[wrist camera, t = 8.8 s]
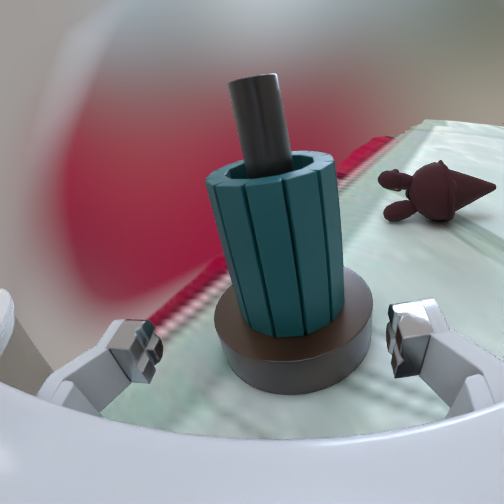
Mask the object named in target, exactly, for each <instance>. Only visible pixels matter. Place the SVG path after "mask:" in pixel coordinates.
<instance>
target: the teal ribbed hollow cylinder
mask: <svg viewBox="0 0 504 504" xmlns="http://www.w3.org/2000/svg"><path fill="white" fill-rule="evenodd" d="M291 153H292V159H293V165H294V171H292V172H289V173H285V174H281V175H277V176H270V177H263V178H256V179H247V174H246V169H245V164H244V160H241V161H237V162H236V163H231V164H229V165H227V166H224V167H222V168H220V169H217V170H216V171H214V172H212V173H211V174H210V175H209V176H208V177H207V178H206V180H205V182H206V186H207V190H208V194H209V198H210V202H211V206H212V210H213V214H214V217H215V221H216V225H217V229H218V232H219V236H220V240H221V244H222V248H223V251H224V255H225V259H226V262H227V266H228V270H229V273H230V277H231V281H232V284H233V288H234V291H235V295H236V299H237V302H238V306H239V309H240V313H241V315H242V317H243V318H244V320H245V321H246V323H247V324H248V326H249V327H252V329H253V330H255V331H258V332H260V333H263V334H266V335H268V336H271V337H274V335H275V334H276V336H277V337H278V338H279V337H295V336H303V335H304V331H305V332H306V333H307V334H310V333H312V332H315V331H317V330H319V329H321V328H323V327H325V326H327V325H329V324H330V321H334V320H335V318H336V317H337V315H338V314H339V312H340V311H341V309H342V308H343V306H344V302H345V297H344V268H343V249H342V233H341V220H340V208H339V197H338V187H337V177H336V169H335V161H334V160H333V158H332V156H331V155H329V154H326V153H321V152H315V151H313V152H311V151H291Z"/></svg>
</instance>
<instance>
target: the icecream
mask: <svg viewBox="0 0 504 504" xmlns="http://www.w3.org/2000/svg"><path fill="white" fill-rule="evenodd" d="M378 182H379V184H380V185H381V186H382V187H383V188H386V189H389V190H393V191H398V192H399V191H401V189H403V190H406V193H405V195H406V197H407V198H408V199H409V200H410V201H409V200H404V201H398V202H394V203H392V204H390V205H388V206H387V207H386V208H385V209H384V212H383V214H384V217H385V219H387V220H389V221H401V220H403V219H405V218H408V217H410V216H411V215H413V214H414V213H415V212H417V211H418V212H419V213H421V214H422V215H423V216H425V217H427V218H430V219H432V220H444V219H446V220H449V221H450V220H451V219H453V217H454V215H455V211H457V210H459V209H461V208H462V207H464V206H466V205H468V204H470V203H472V202H473V201H475V200H477V199H479V198H481V197H483V196H484V195H486V194H488V193H490V192H492V191H494V190H495V189H496V185H495V184H493V183H490V182H487V181H484V180H481V179H478V178H475V177H472V176H469V175H466V174H463V173H460V172H456V171H453V170H450V169H448V167H447V166H446V165H445V164H444V163H443V162H442V160H440V161H439V162H438V163H436V162H433V163H431V164H428V165H425V166H423V167H422V168H420V169H419V170H417V171H416V172H415V174H414V175H413V176H410V175H408V174H405V173H399V171H398V170H397V169H394V170H392V171H384V172H382V173H381V174H380V176H379V177H378Z"/></svg>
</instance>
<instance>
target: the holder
mask: <svg viewBox="0 0 504 504" xmlns="http://www.w3.org/2000/svg"><path fill="white" fill-rule="evenodd" d="M227 85H228V90H229V94H230V99H231V103H232V108H233V113H234V117H235V122H236V127H237V131H238V136H239V141H240V145H241V150H242V155H243V160H244V164H245V169H246V174H247V179H256V178H263V177H270V176H277V175H281V174H285V173H289V172H292V171H294V165H293V159H292V153H291V147H290V141H289V136H288V130H287V124H286V119H285V113H284V108H283V103H282V98H281V92H280V87H279V83H278V78H277V75H276V74H264V75H257V76H251V77H246V78H241V79H237V80H234V81H231V82H228V83H227ZM343 268H344V297H345V302H344V306H343V308H342V309H341V311H340V312H339V314H338V315H337V317H336V318H335V320H334V321H330V324H329V325H327V326H325V327H323V328H321V329H319V330H317V331H315V332H312V333H310V334H307V333H306V332H305V331H304V335H303V336H295V337H279V338H278V337H277V336H276V334H275V335H274V337H271V336H268V335H266V334H263V333H260V332H258V331H255V330H253V329H252V327H249V326H248V324H247V323H246V321H245V320H244V318H243V317H242V315H241V313H240V309H239V306H238V302H237V299H236V295H235V291H234V288H233V285H231V286H230V287H229V288H228V289H227V290H226V292H225V293H224V294H223V295H222V297H221V298H220V300H219V302H218V304H217V306H216V310H215V314H214V323H215V328H216V331H217V334H218V336H219V339H220V342H221V344H222V347H223V350H224V352H225V355H226V358H227V360H228V363H229V365H230V366H231V368H232V370H233V371H234V372H235V373H236V374H237V375H238V376H239V377H240V378H241V379H242V380H243V381H245V382H246V383H248V384H250V385H252V386H253V387H256V388H258V389H261V390H264V391H267V392H271V393H278V394H303V393H309V392H314V391H318V390H321V389H324V388H326V387H329V386H331V385H333V384H335V383H337V382H339V381H340V380H342V379H343V378H345V377H347V376H348V375H349V374H350V373H351V372H352V371H354V370H355V368H356V367H357V366H358V365H359V364H360V363H361V361H362V360H363V358H364V357H365V355H366V353H367V350H368V348H369V344H370V338H371V326H372V310H373V299H372V294H371V291H370V289H369V287H368V285H367V284H366V282H365V281H364V280H363V279H362V278H361V277H360V276H359V275H358V274H357V273H355V272H354V271H352V270H350V269H348V268H346V267H344V266H343Z"/></svg>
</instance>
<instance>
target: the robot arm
mask: <svg viewBox="0 0 504 504" xmlns="http://www.w3.org/2000/svg"><path fill="white" fill-rule="evenodd" d="M388 316H389V319H390V322H389V323H388V324H387V328H386V341H387V348H388V352H389V353H390V354H391V355H392V360H391V365H392V369H393V373H394V378H402V377H409V376H416V375H419V376H420V377H421V378H422V379H423V380H424V381H425V382H426V383H427V384H428V385H429V386H430V387H431V388H432V389H433V390H434V391H435V392H436V393H437V394H438V395H439V396H440V397H441V399H442V400H443V401H444V402H445V403H446V404H447V405H448V406H449V407H450V408H451V409H450V411H449V412H448V414H447V416H446V417H445V419H444V420H440V421H436V422H431V423H427V424H422V425H418V426H413V427H408V428H402V429H397V430H391V431H384V432H378V433H370V434H362V435H354V436H344V437H332V438H316V439H284V440H272V439H240V438H224V437H212V436H202V435H193V434H185V433H177V432H171V431H164V430H158V429H152V428H147V427H142V426H137V425H132V424H127V423H122V422H118V421H114V420H110V419H106V418H104V417H103V416H102V415H101V414H100V412H101V411H102V410H103V409H104V408H105V407H106V406H107V405H108V404H109V403H110V402H112V401H113V400H114V399H115V398H116V397H117V396H118V395H119V394H120V393H121V392H122V391H123V390H125V389H126V388H127V387H128V386H129V385H130V384H131V382H135V383H146V384H150V382H151V380H152V378H153V376H154V374H155V371H156V369H155V365H156V364H157V363H159V362H160V360H161V358H162V356H163V345H162V341H161V339H160V337H159V336H157V335H156V334H155V333H154V330H155V327H154V326H153V324H152V322H151V321H149V320H129V319H126V320H123V319H116V320H114V321H113V322H112V323H111V325H110V326H109V327H108V329H107V330H106V332H105V333H104V335H103V336H102V338H101V339H100V341H99V342H98V344H97V345H96V347H92V348H90V349H89V350H87V351H86V352H84V353H83V354H81V355H79V356H78V357H76V358H75V359H73V360H72V361H70V362H69V363H67V364H66V365H64V366H63V367H61V368H60V369H58V370H57V371H55V372H53V373H52V374H50V375H49V377H48V378H47V380H46V381H45V383H44V384H43V386H42V387H41V389H40V390H39V392H38V393H37V395H36V397H35V396H33V395H30V394H28V393H25V392H23V391H20V390H18V389H15V388H13V387H11V386H8V385H6V384H4V383H2V382H0V504H504V362H503V361H501V360H500V359H498V358H496V357H495V356H493V355H492V354H490V353H489V352H487V351H486V350H484V349H483V348H481V347H480V346H478V345H477V344H475V343H474V342H472V341H471V340H469V339H467V338H466V337H464V336H463V335H461V334H460V333H458V332H456V331H455V330H454V331H450V328H449V326H448V324H447V322H446V320H445V318H444V316H443V314H442V312H441V310H440V308H439V306H438V304H437V302H436V300H435V299H434V298H433V297H432V298H426V299H421V300H416V301H410V302H403V303H396V304H390V305H389V309H388Z"/></svg>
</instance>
